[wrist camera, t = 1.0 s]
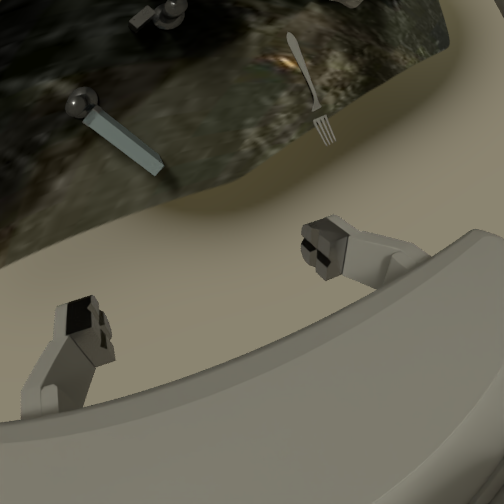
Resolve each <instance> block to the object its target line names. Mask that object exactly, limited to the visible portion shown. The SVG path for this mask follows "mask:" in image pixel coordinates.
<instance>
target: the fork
mask: <svg viewBox="0 0 504 504" xmlns="http://www.w3.org/2000/svg"><path fill="white" fill-rule="evenodd" d="M287 41H288V44H289V46H290V48H291V50H292V53H293V55H294V57H295V59H296V61H297V63H298V65H299V66H300V68H301V70H302V72H303V74H304V76H305V78H306V80H307V82H308V84H309V87H310V89H311V91H312V94H313V97H314V105H313V108H312V111H315V110H317V109H319V108H321V107H322V106H321V105H320V104H319V102H318V99H317V95H316V92H315V89H314V87H313V84H312V81H311V79H310V76H309V73H308V71H307V68H306V65H305V62H304V59H303V56H302V54H301V51H300V48H299V46H298V43H297V41H296V39H295V37H294V36H293V35H292V34H291V33H290V32H289V33H287ZM324 117H325V119H326V122H327V124H328V127H329V129H330V131H331V133H332V136H333V138H334V139H335V137H334V134H333V132H332V129H331V126H330V124H329V121H328V118H327V116H326V115H324V116H322V117H320V118H317V119H315V120H313V122H314V125H315V127H316V129H317V131H318V132H319V134H320V136H321V138H322V140H323V141H324V143H325V144H326V142H325V140H324V138H323V136H322V134H321V132H320V130H319V128H318V126H317V124H316V121H317V122H318V124H319V126H320V128H321V130H322V132H323V134H324V136H325V138H326V139H327V141H328V143H329V145H330V142H329V140H328V138H327V136H326V134H325V132H324V129H323V127H322V125H321V123H320V119H321V120H322V123H323V125H324V127H325V129H326V131H327V133H328V135H329V137H330V139H331V141H332V138H331V136H330V133H329V131H328V129H327V127H326V124H325V121H324ZM335 141H336V139H335ZM332 143H333V141H332ZM326 146H327V144H326Z"/></svg>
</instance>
